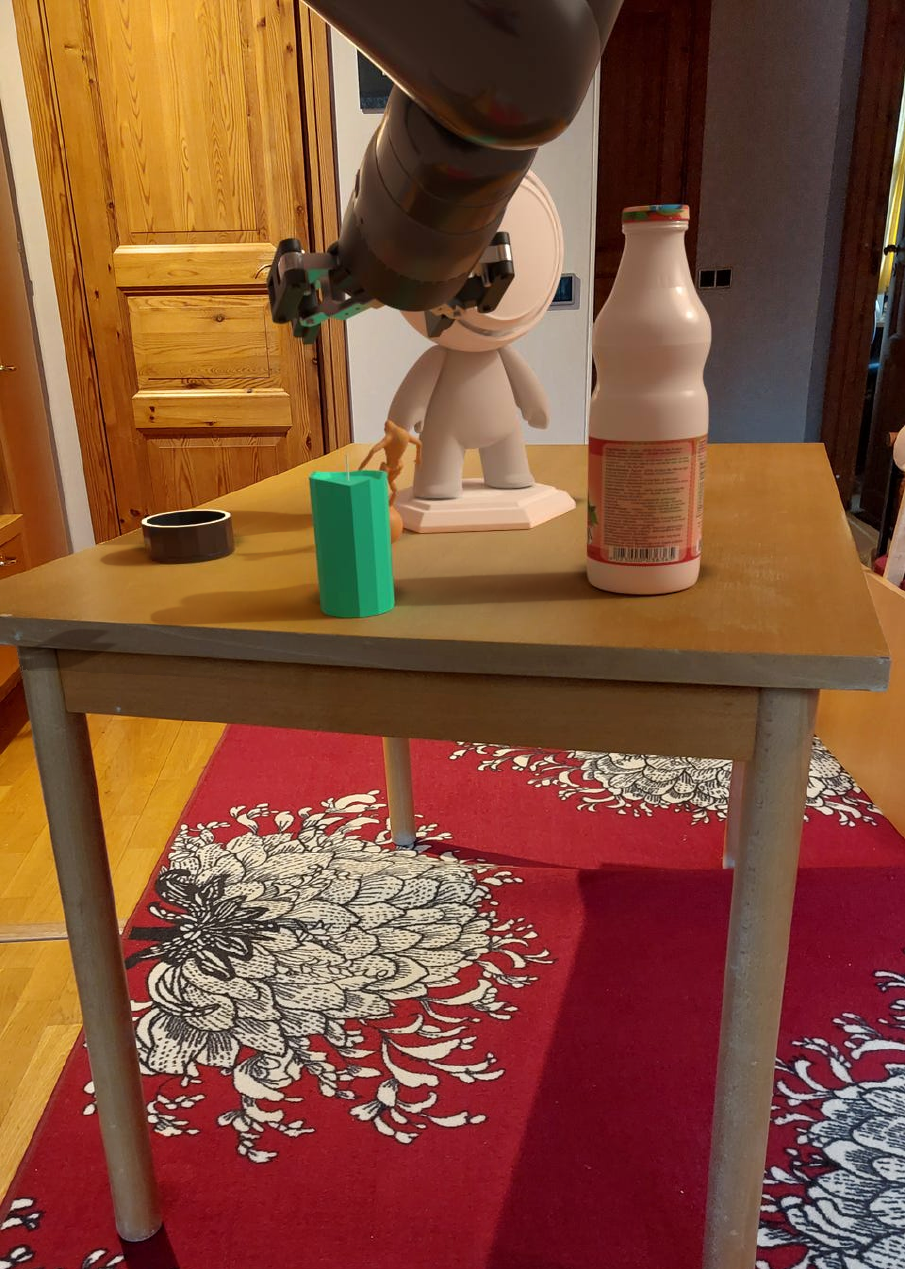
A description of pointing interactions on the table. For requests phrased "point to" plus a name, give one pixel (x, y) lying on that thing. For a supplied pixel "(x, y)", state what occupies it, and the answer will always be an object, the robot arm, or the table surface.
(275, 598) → the table surface
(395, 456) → the figurine
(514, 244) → the big headed doll
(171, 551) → the tape roll
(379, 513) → the candle
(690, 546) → the fruit juice
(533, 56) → the robot arm
